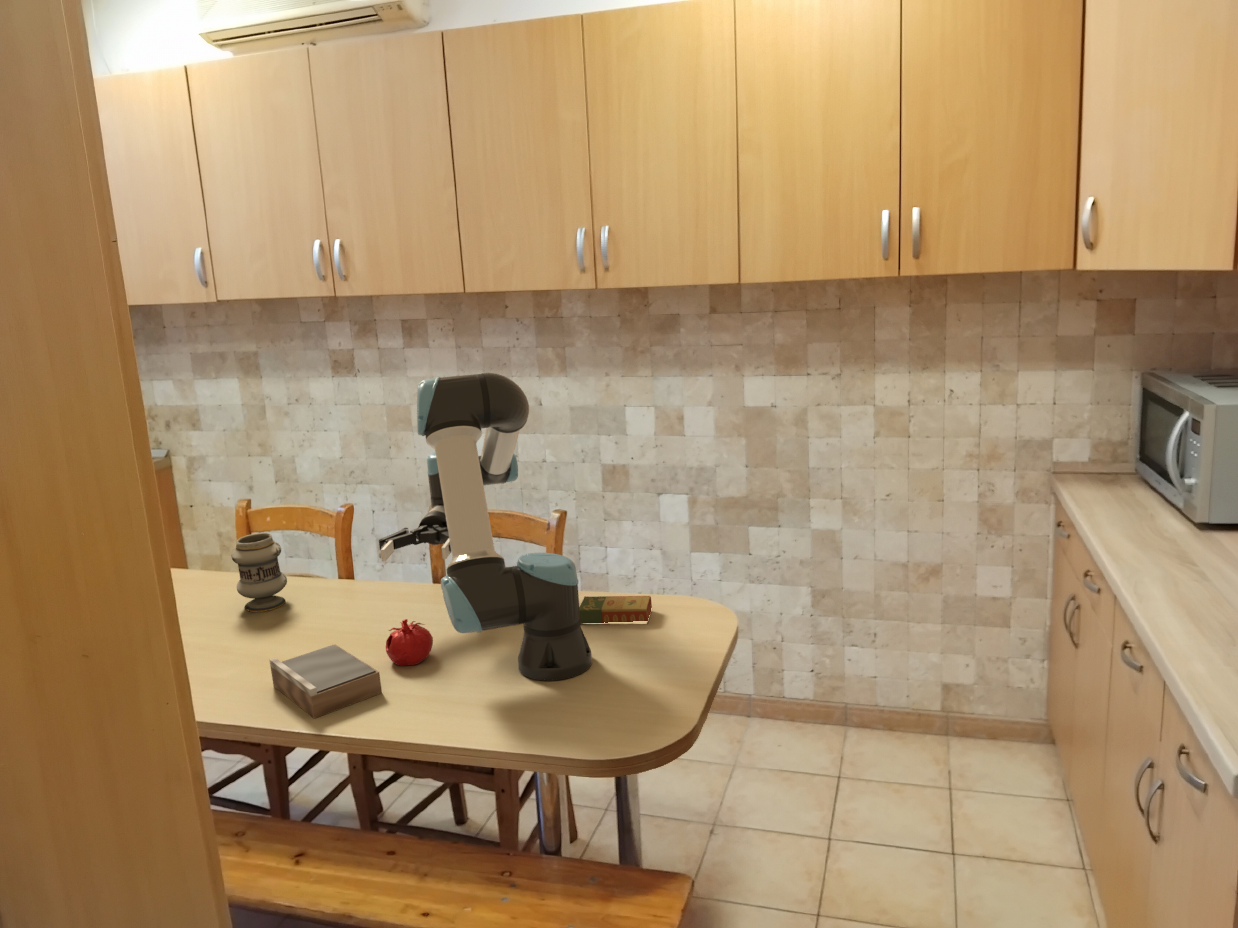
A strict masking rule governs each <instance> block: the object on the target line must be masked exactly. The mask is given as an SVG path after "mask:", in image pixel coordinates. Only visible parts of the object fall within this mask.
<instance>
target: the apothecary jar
mask: <svg viewBox="0 0 1238 928" xmlns="http://www.w3.org/2000/svg"><path fill="white" fill-rule="evenodd" d="M235 544H236V546H235V548H234V549H233V551H232V552H231V557H230V558H231V560H232V561H233V562H234V563H235V564H237V567H238V573H239V580H238V582H237V584H236V591H237V593H238V594H239V595H241V596H242V597H244V598H246V599H252V600H249V601H248V602H247V603H246V604H245V605H244V608H243V609H244V610H245V611H248V612H249V611H250V613H262V611H264V612H268V611H267V610H269V611H272V609H273V610H275V609H278V608H280V607H282V606H283V605H285V603H286V599H285V598H284V597H283V596H279V595H276V594H279V593H280V592H281V591H282V590H283V589H284V588H285V587H286V585H288V584H287V583H288V578H287V575H285V573H283V572H282V571H281V569H280V565H279V564H280V563H279V559H278V557H279V556H280V555H281V553H282V548H281V545H280V544H279V543H278V542H276V541H275V540H274V539H273V536H272V533H267V532H259V533H252V534H251V533H250V534H248V535H243V536H241V537H239V538H238V539H237V540H236V543H235Z"/></svg>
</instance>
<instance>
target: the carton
mask: <svg viewBox="0 0 1238 928" xmlns="http://www.w3.org/2000/svg"><path fill="white" fill-rule="evenodd" d="M651 608H652V609H653V606H652V597H651V595H622V596H621V595H619V596H618V595H617V596H616V595H614V596H612V595H610V596H605V595H604V596H602V595H601V596H599V595H598V596H584V597H583V599H582V601H581V603H580V604H579V609H580V622H581V623H604V622H605V623H608V622H633V621H648V618H649V615H650V612H651ZM651 613H652V612H651ZM650 616H651V615H650ZM649 619H650V618H649ZM648 622H649V621H648Z"/></svg>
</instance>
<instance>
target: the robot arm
mask: <svg viewBox="0 0 1238 928" xmlns="http://www.w3.org/2000/svg"><path fill="white" fill-rule="evenodd" d="M416 391H417V392H416V393H417V395H416V414H417V415H416V428H417V435H418V436H421V437H425V441H426V444H427V445H428V446H429V447H430V448H432V449H434V452H432V453H430V454H429V455H428V456H427V459H426V462H427V463H426V464H427V477H428V485H429V486H428V487H429V493H430V504H431V509H430V510H429V511H428V512H427V513H426V514H425V516H424V517H423V518H422V519H421V520H420V522H419V524H418V527H417V528H414V529H411V530H409V527H404V528H402V529H401V530H399V531H396V532H393V533H391V534H389V535H387V536H384V537H381V538H379V539H378V546H379V550H380V555H381V561H382V562H386V561H387V560H388V559H389V558H390V557H391V556H392V555H393V554H394V553H395V550H397V549H401V548H404V547H407V546H411V545H414V546H417V545H420V544H426V543H428V544H429V545H432V546H433V545H434V546H437V545H438V546H439V545H441V556H442V560H448V557H449V556H450V554H451V557H452V559H451V561H450V562H449V564H448V565H447V566H446V575H444V577H441V579H440V589H441V590H442V597H443V600H444V605H445V608H446V612H447V614H448V618H449V620H450V623H451V625H452V626H453V629H454V630H455V631H456V632H458V633H460V634H471V633H482V632H483V631H487V630H495V629H500V628H506V627H507V628H508V627H511V626H518V625H523V637H522V640H521V644H520V648H519V649H520V650H519V653H518V656H517V663H518V664H517V666H518V671H519V673H520V674H521V675H523V676H524V677H526V678H528V679H532V680H536V681H544V682H545V681H551V682H552V681H560V680H562V681H563V680H566V679H571V678H573V677H577V676H580V675H581V674H583V673H585V672H587V670H589V669H590V667H591V666H592V663H593V659H592V658H593V657H592V650H591V648H590V645H589V642H588V640H587V637H586V636H585V634H584V631H583V629H582V626H581V625H582V624H581V622H580V609H579V607H580V599H579V579H578V575H577V574H578V573H577V567H576V564H575V563H574V561H573V560H572V559H570V558H569V557H567V556H565V555H562V554H559V553H554V552H553V553H552V552H532V553H531V552H530V553H526V554H524V555H521V556H519V557H518V558H517V562H516V565H513V566H506V562H505V559H504V556H502V555H501V554H499V553H497V551H496V550H495V546H494V545H495V543H494V539H493V534H492V533H493V531H492V527H491V521H490V520H491V519H490V515H489V510H488V504H487V498H486V492H485V488H484V487H485V486H491V485H492V486H493V485H500V484H501V485H502V484H503V485H504V484H507V483H511V482H515V481H517V480H518V478H519V464H518V460H517V456H516V455H515V452H514V451H515V448H516V445H517V441H518V438H519V434H520V431H521V430H522V429H523V428H524V427H525V425H526V424H527V421H528V418H529V415H530V404H529V400H528V398H527V396H526V393H525V392H524V390H522V388H521V387H520V386H519V385H518V384H517V383H516V382H514V381H513V380H512V379H510V378H508V377H506V376H505V375H502V374H498V373H493V372H483V373H482V372H481V373H475V374H464V375H454V376H444V377H441V376H437V377H435V378H434V377H433V378H429V379H423V380H421V381H420V382H419V384H418V385H417V390H416ZM482 429H485V434H484V438H483V439H484V440H483V442H482V443H483V445H482V451H481V455H479V452H478V446H477V443H478V441H479V440H480V439H481V437H482V435H483V432H482Z"/></svg>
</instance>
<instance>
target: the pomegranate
mask: <svg viewBox="0 0 1238 928" xmlns="http://www.w3.org/2000/svg"><path fill="white" fill-rule="evenodd" d="M408 621H409V620H408V619H407V618H405V619H403V620H402V621H401V622H400V621H399V624H400V626H401V627H398V628H397V627H392V628H391V629H388V631H389V632H391V633H390V634H389V636H388V637H387V639H386V640H385V652H386V654H387V657H388V658H389V659H390V661H391V662H392V663H394V664H395V665H397V666H403V667H405V666H406V667H407V666H414V665H418V664H420V663H421V662H423V661H425V660H426V659H427V658H428V657H429V655H430V653H431V651H432V648H433V644H434V637H433V635H432V633H431V632H430V630H429V629H427V628H425V627H423V625H426V624H424V623H421V622H416V620H413V621H411V622H410V624H408ZM421 625H422V626H421ZM392 630H394V631H392Z"/></svg>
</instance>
